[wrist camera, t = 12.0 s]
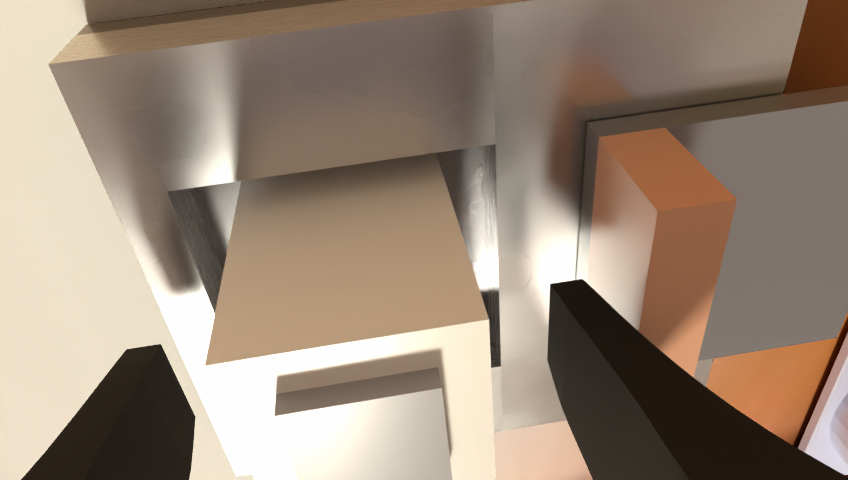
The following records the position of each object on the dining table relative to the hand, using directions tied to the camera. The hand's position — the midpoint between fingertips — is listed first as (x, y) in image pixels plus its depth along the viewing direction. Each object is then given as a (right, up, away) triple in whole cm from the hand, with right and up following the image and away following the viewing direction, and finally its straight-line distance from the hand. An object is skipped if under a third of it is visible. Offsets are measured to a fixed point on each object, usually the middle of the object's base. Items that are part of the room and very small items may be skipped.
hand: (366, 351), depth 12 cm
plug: (0, +2, +2) cm, 3 cm away
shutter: (+7, +2, +2) cm, 8 cm away
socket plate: (+2, +2, +3) cm, 4 cm away
